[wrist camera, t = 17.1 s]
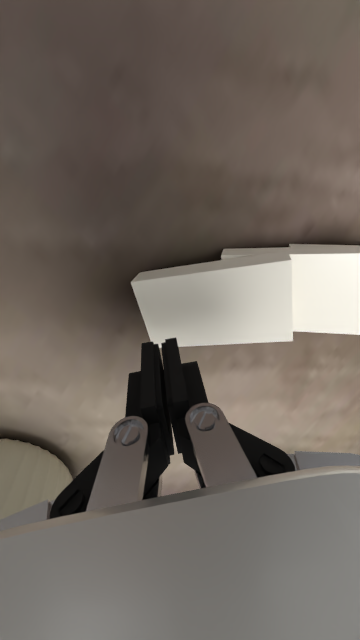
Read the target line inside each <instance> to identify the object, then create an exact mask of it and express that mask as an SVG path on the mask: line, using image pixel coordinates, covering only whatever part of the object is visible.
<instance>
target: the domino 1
mask: <svg viewBox="0 0 360 640" xmlns="http://www.w3.org/2000/svg"><path fill="white" fill-rule="evenodd" d="M131 285H132V288H133V291H134V294H135V296H136V299H137V302H138V305H139V308H140V311H141V314H142V317H143V320H144V323H145V326H146V329H147V331H148V334H149V337H150V340H151V342H153V343H154V344H158V346H159V348H162V345H161V343H164V342H165V339H170V338H176V339H177V344H178V347H185V346H204V345H224V344H243V343H263V342H282V341H293V318H292V261H291V258H290V255H289V253H288V250H286V251H279V252H273V253H266V254H259V255H252V256H246V257H239V258H232V259H226V260H219V261H212V262H206V263H199V264H192V265H186V266H179V267H172V268H166V269H159V270H152V271H145V272H140V273H139V274H138V275H137V276H136V277H135V278H134V279H133V280H132V281H131Z"/></svg>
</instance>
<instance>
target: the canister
mask: <svg viewBox="0 0 360 640" xmlns="http://www.w3.org/2000/svg"><path fill="white" fill-rule="evenodd" d="M72 481H73V478H72V476H71V474H70V472H69V470H68V468H67V467H66V466H65V465H64V463H63V462H62V461H61V460H59V459H58V458H57V457H56V455H53V454H51V453H49V451H48V450H44V449H41V448H40V447H39V446H34V445H32V444H30V443H24V442H21V441H19V440H10V439H7V438H5V439H0V520H1V519H3V518H5V517H8V516H10V515H12V514H15V513H17V512H19V511H22V510H24V509H26V508H29V507H31V506H33V505H36V504H38V503H40V502H43V501H45V500H47V499H48V500H49V501H50V502H51V501H53V500H55V499H56V498H57V496H58V495H59V494H60V493H61V492H62V491H63V490H64V489H65V488H66V487H67V486H68V485H69V484H70V483H71V482H72Z"/></svg>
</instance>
